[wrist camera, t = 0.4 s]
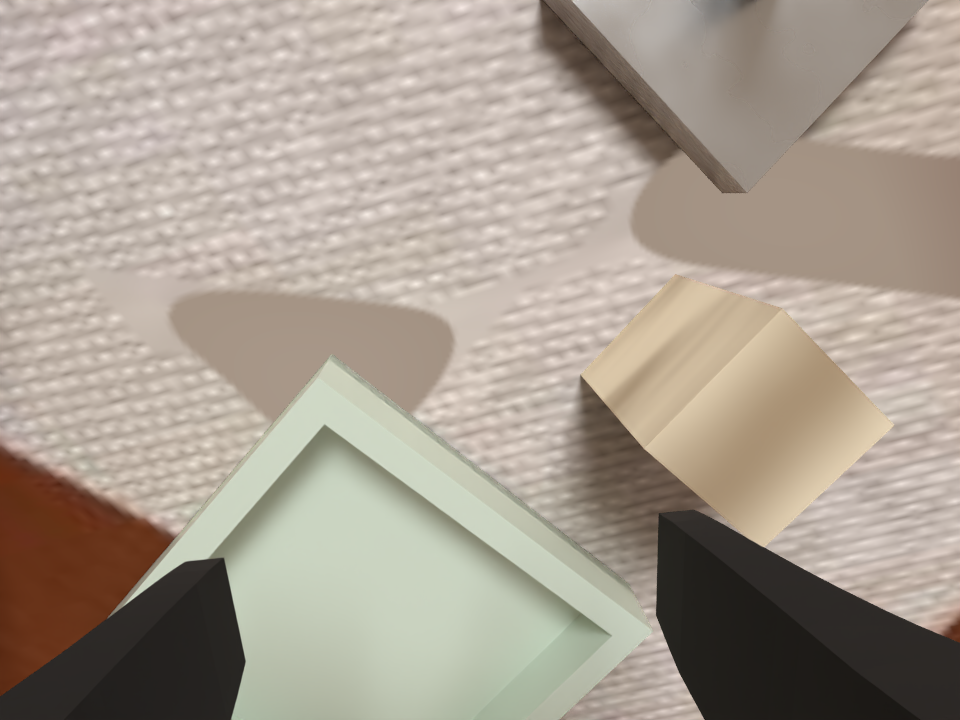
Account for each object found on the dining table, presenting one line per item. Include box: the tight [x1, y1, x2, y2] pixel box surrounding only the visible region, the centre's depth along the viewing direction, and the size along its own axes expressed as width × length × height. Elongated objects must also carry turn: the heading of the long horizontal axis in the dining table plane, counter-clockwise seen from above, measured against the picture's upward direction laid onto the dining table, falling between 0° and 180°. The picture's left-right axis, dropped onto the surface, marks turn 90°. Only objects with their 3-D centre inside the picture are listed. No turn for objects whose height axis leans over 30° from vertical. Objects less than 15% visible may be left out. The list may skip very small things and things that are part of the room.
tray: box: [108, 354, 653, 720], centre depth 20 cm, size 14×14×2 cm
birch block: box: [581, 274, 894, 547], centre depth 17 cm, size 4×4×6 cm
